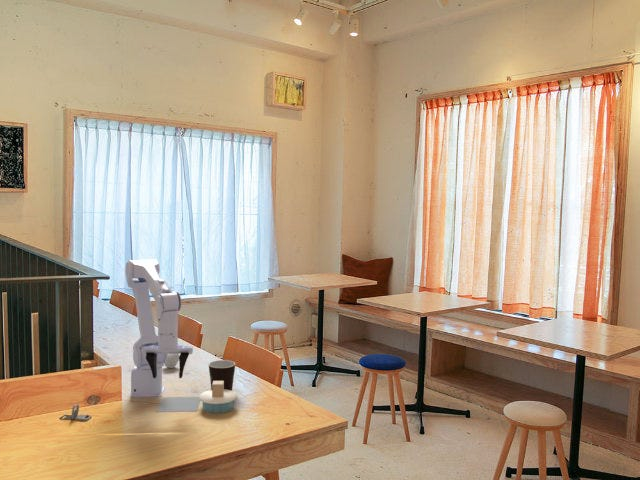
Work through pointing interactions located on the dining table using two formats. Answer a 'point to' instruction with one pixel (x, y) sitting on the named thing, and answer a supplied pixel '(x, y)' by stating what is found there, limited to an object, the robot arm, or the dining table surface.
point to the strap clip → (76, 415)
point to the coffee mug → (222, 372)
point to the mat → (178, 404)
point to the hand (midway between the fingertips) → (167, 377)
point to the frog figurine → (172, 360)
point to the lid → (217, 394)
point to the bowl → (217, 407)
